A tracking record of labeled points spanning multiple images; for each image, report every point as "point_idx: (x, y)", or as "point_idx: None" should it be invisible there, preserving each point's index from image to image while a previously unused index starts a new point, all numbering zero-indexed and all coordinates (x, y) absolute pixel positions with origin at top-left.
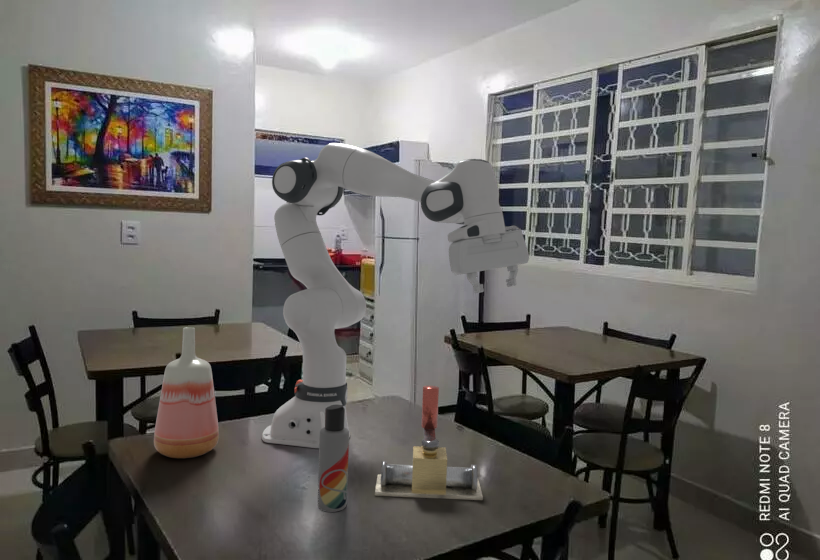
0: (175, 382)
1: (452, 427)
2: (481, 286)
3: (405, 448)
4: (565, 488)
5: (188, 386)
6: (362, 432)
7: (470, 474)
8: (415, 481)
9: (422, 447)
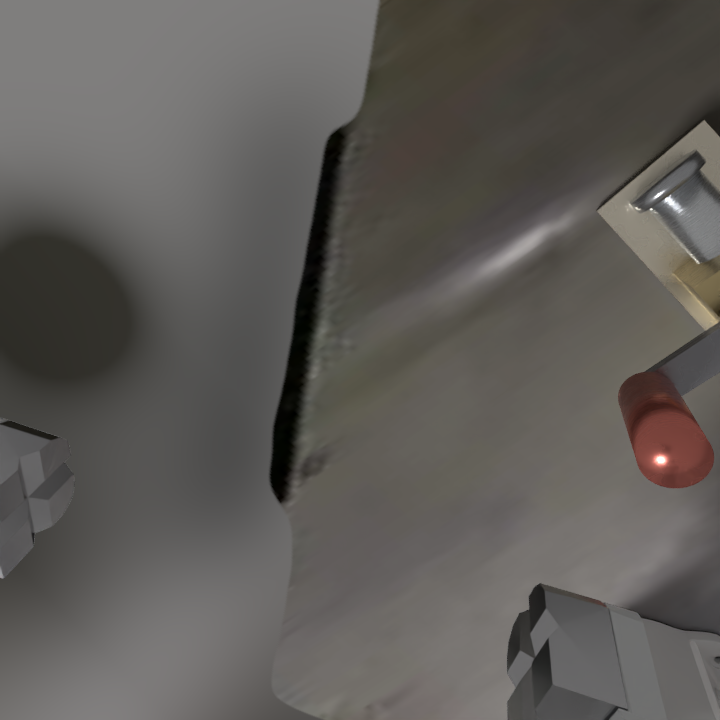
0: None
1: (325, 480)
2: (585, 658)
3: (539, 481)
4: (449, 22)
5: None
6: None
7: (699, 175)
8: None
9: None
